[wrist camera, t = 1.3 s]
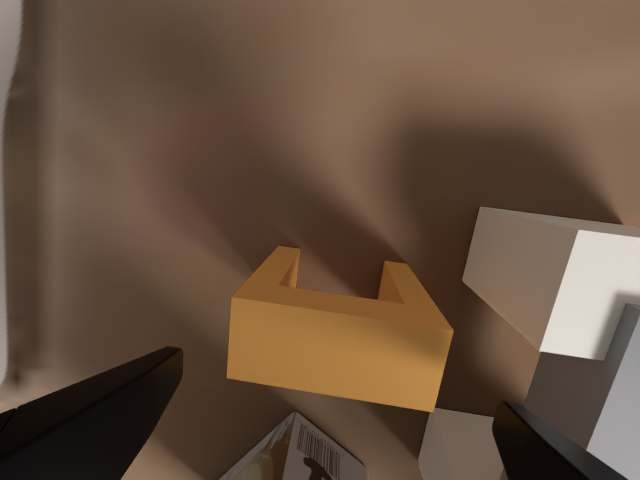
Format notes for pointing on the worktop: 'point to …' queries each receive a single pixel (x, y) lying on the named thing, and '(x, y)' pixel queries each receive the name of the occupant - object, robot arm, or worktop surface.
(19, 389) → the worktop surface
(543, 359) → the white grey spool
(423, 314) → the orange u-channel
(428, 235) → the worktop surface
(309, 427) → the coffee box
